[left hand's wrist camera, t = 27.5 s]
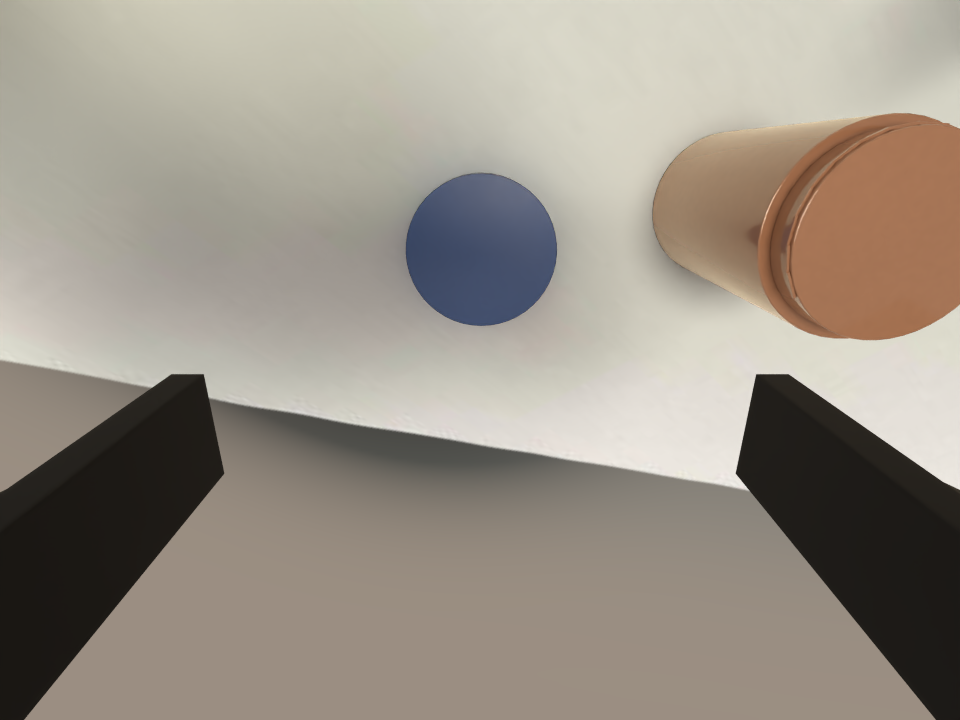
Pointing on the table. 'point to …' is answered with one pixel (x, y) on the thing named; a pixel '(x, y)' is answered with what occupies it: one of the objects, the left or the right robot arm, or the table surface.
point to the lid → (481, 249)
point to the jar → (823, 221)
